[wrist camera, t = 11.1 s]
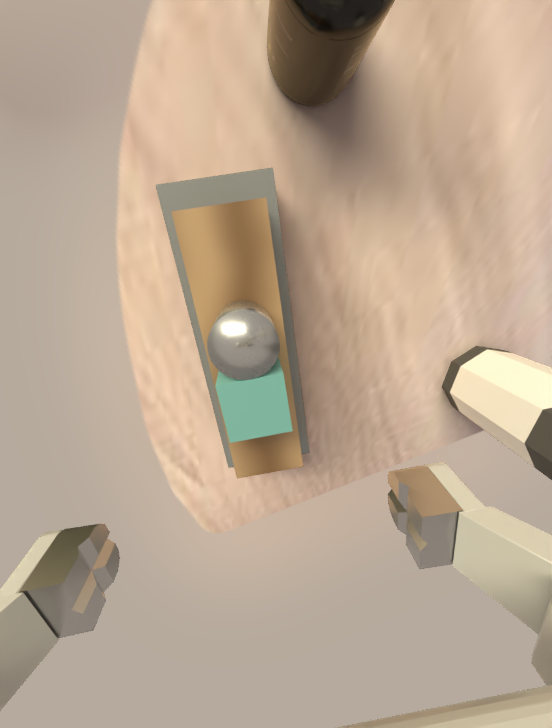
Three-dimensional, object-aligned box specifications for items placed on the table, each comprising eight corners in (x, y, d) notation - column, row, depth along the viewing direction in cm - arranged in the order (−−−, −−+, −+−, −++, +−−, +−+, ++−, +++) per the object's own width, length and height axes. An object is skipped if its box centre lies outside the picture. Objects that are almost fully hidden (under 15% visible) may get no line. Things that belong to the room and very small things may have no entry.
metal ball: (268, 295, 19) (274, 305, 15) (277, 352, 21) (284, 373, 17) (208, 304, 19) (199, 317, 15) (221, 361, 21) (215, 385, 17)
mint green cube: (276, 351, 21) (283, 373, 17) (284, 401, 22) (292, 431, 18) (220, 362, 21) (215, 386, 17) (232, 410, 22) (229, 443, 18)
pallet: (262, 206, 21) (266, 197, 17) (296, 440, 28) (303, 466, 24) (183, 218, 20) (171, 211, 17) (238, 450, 28) (237, 478, 24)
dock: (267, 184, 24) (273, 167, 20) (300, 424, 33) (309, 452, 29) (172, 198, 24) (155, 185, 20) (231, 437, 33) (228, 467, 28)
